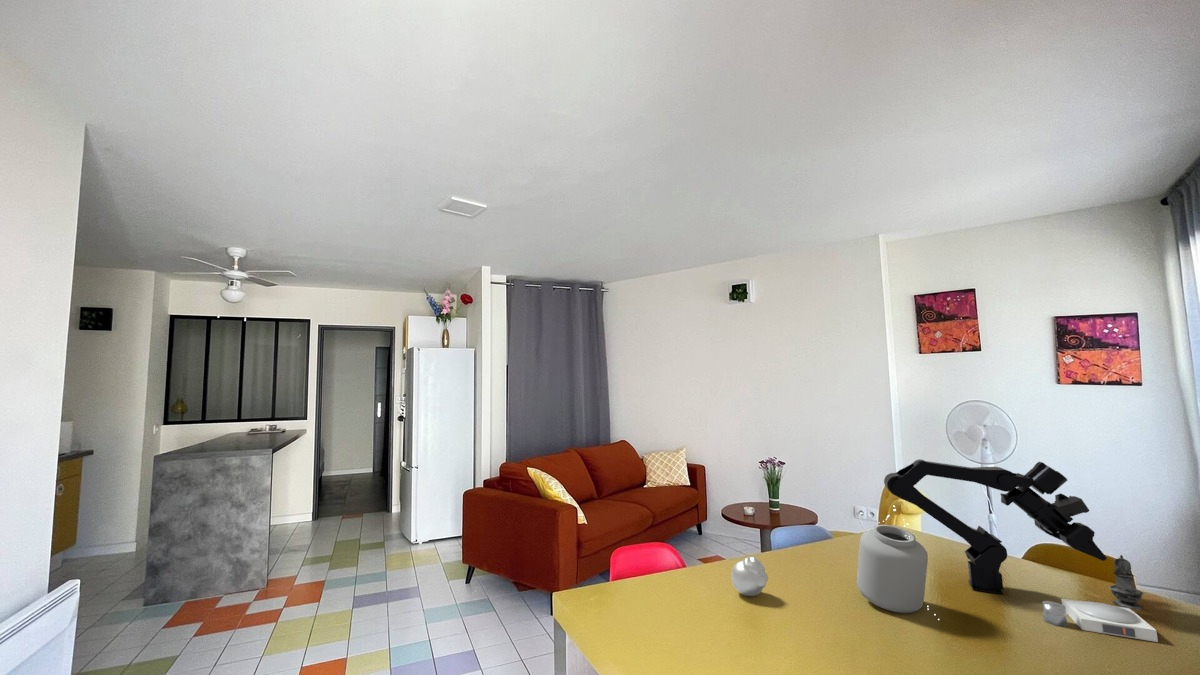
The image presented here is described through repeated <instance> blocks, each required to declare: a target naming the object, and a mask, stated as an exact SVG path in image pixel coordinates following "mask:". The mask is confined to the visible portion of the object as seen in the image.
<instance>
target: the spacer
mask: <svg viewBox="0 0 1200 675" xmlns="http://www.w3.org/2000/svg"><path fill="white" fill-rule="evenodd" d="M1041 604H1042V613H1043V615H1042V616H1043V621H1044V622H1045V623H1047V624H1049V625H1052V626H1055V627H1061V628H1063V627H1064V628H1066V627H1068V619H1067V618H1068V617H1067V613H1066V608H1065V606H1064V605H1062V603H1059V602H1057V601H1051V600H1043V601H1042V602H1041Z"/></svg>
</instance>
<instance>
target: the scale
mask: <svg viewBox="0 0 1200 675" xmlns="http://www.w3.org/2000/svg"><path fill="white" fill-rule="evenodd" d="M1061 604H1062V605H1064V606H1065V608H1066V615H1068V616H1069V617H1070V619H1072V621H1073V622H1074V623H1075V624H1076V626H1078V627H1079V629H1081V631H1087V632H1091V633H1092V632H1093V633H1098V634H1106V635H1112V636H1117V637H1123V638H1129V639H1137V640H1142V641H1148V642H1153V643H1154V642H1155V643H1158V642H1159V641H1158V634H1157V629H1155V628H1154V627H1153V626H1152V625H1151V624H1149V623H1148V622H1147V621H1145V620H1144V619H1143V618H1142V617H1141V616H1140V615H1138V614H1137V613H1136V612H1135V611H1133V609H1129V608H1124V607H1121V606H1118V605H1112V604H1108V603H1103V602H1096V601H1086V600H1083V601H1082V600H1075V599H1074V600H1073V599H1067V598H1061Z"/></svg>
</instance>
